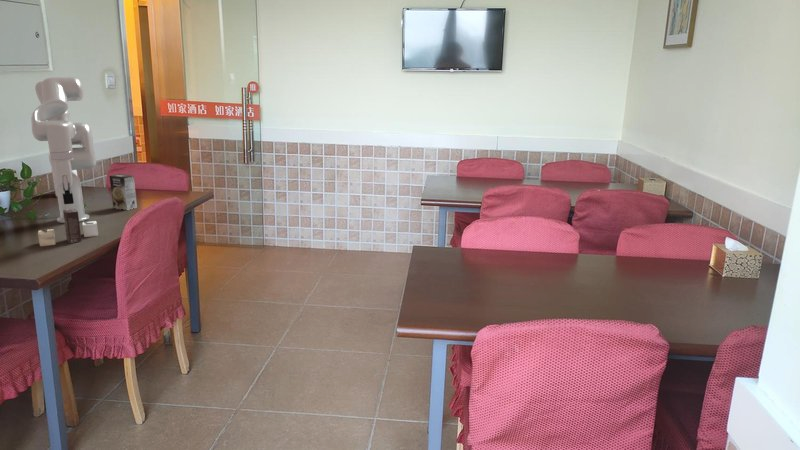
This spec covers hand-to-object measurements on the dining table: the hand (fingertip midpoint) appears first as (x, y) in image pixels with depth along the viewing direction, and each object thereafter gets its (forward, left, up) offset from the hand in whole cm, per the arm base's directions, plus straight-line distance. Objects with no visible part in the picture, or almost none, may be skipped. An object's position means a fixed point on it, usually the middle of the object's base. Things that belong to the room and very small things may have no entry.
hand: (69, 203), depth 222 cm
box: (0, 0, -15) cm, 15 cm away
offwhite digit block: (-6, +6, -15) cm, 17 cm away
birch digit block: (0, -9, -15) cm, 17 cm away
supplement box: (-97, -2, -15) cm, 98 cm away
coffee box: (-49, +22, -15) cm, 56 cm away
